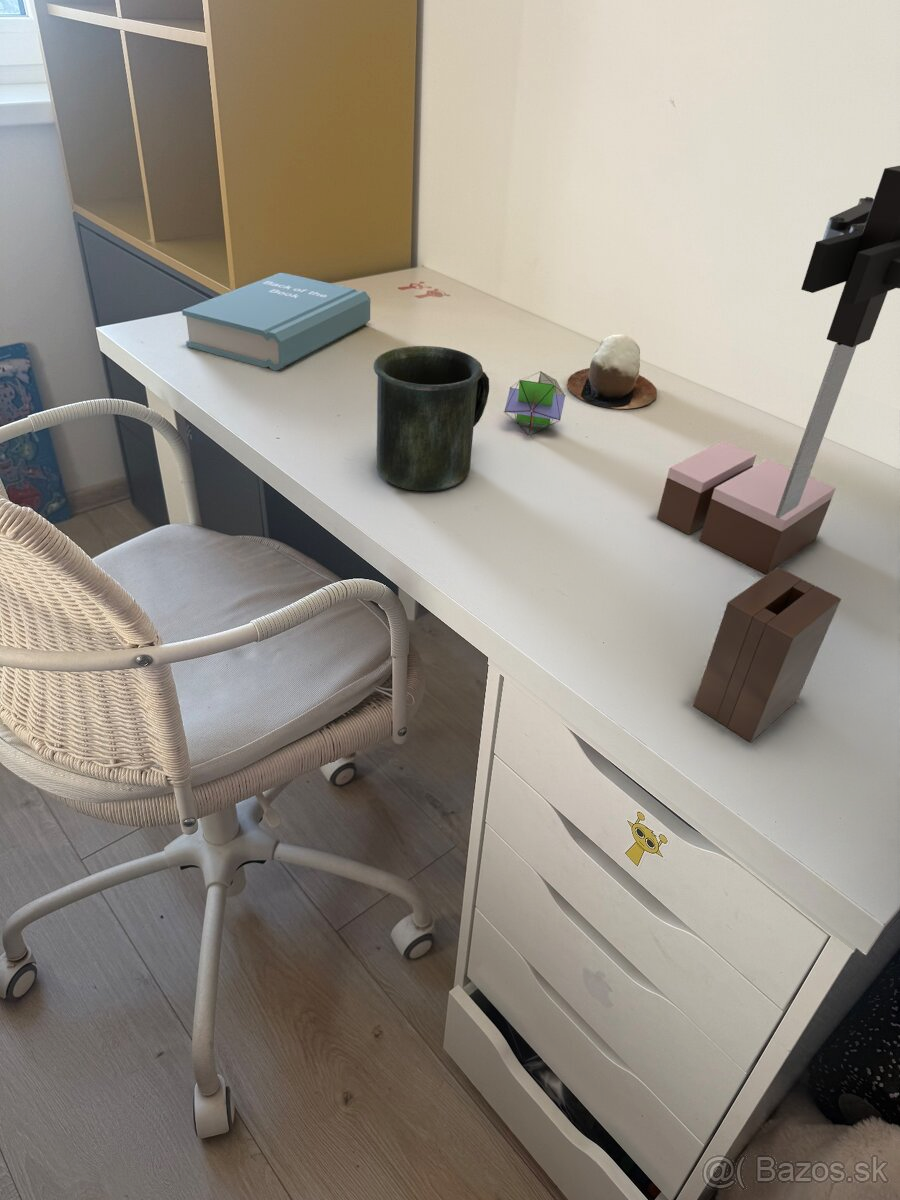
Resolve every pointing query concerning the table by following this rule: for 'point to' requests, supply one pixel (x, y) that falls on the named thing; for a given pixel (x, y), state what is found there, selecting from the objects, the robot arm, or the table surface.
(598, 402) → the hat
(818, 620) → the knife block
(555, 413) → the geometric puzzle
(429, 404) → the mug
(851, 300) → the robot arm
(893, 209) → the knife
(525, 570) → the table surface
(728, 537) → the cake
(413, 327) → the table surface
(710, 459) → the cake slice
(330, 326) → the book
